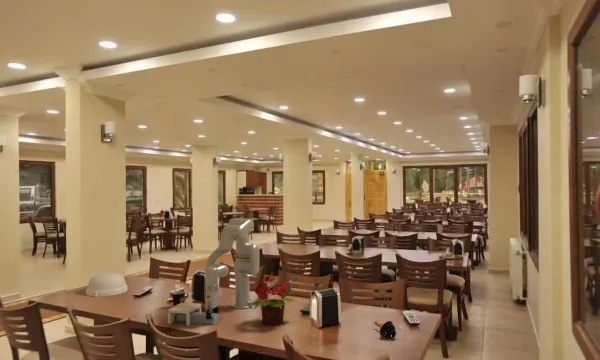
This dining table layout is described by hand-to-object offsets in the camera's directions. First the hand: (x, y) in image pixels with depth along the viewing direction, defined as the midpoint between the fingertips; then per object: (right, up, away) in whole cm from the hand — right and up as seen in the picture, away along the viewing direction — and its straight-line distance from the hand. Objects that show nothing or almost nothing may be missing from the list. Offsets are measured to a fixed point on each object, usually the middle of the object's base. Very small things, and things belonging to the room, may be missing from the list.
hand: (212, 316), depth 259 cm
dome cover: (-97, -6, +78) cm, 125 cm away
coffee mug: (-28, -4, +33) cm, 43 cm away
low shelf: (-17, -4, +3) cm, 17 cm away
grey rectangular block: (-9, -3, +2) cm, 10 cm away
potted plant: (+36, -3, -4) cm, 36 cm away
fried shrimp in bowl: (+98, -3, -23) cm, 101 cm away
